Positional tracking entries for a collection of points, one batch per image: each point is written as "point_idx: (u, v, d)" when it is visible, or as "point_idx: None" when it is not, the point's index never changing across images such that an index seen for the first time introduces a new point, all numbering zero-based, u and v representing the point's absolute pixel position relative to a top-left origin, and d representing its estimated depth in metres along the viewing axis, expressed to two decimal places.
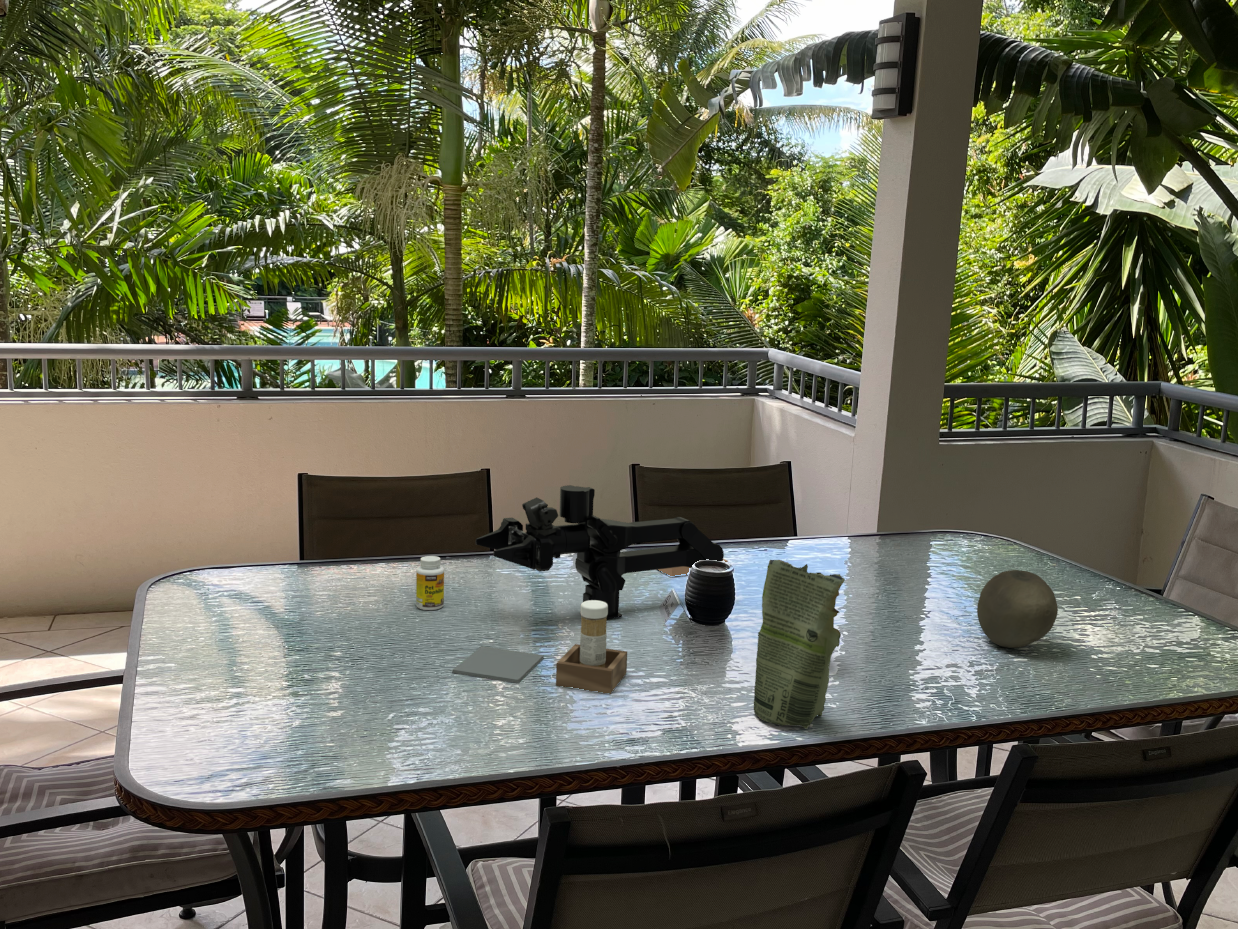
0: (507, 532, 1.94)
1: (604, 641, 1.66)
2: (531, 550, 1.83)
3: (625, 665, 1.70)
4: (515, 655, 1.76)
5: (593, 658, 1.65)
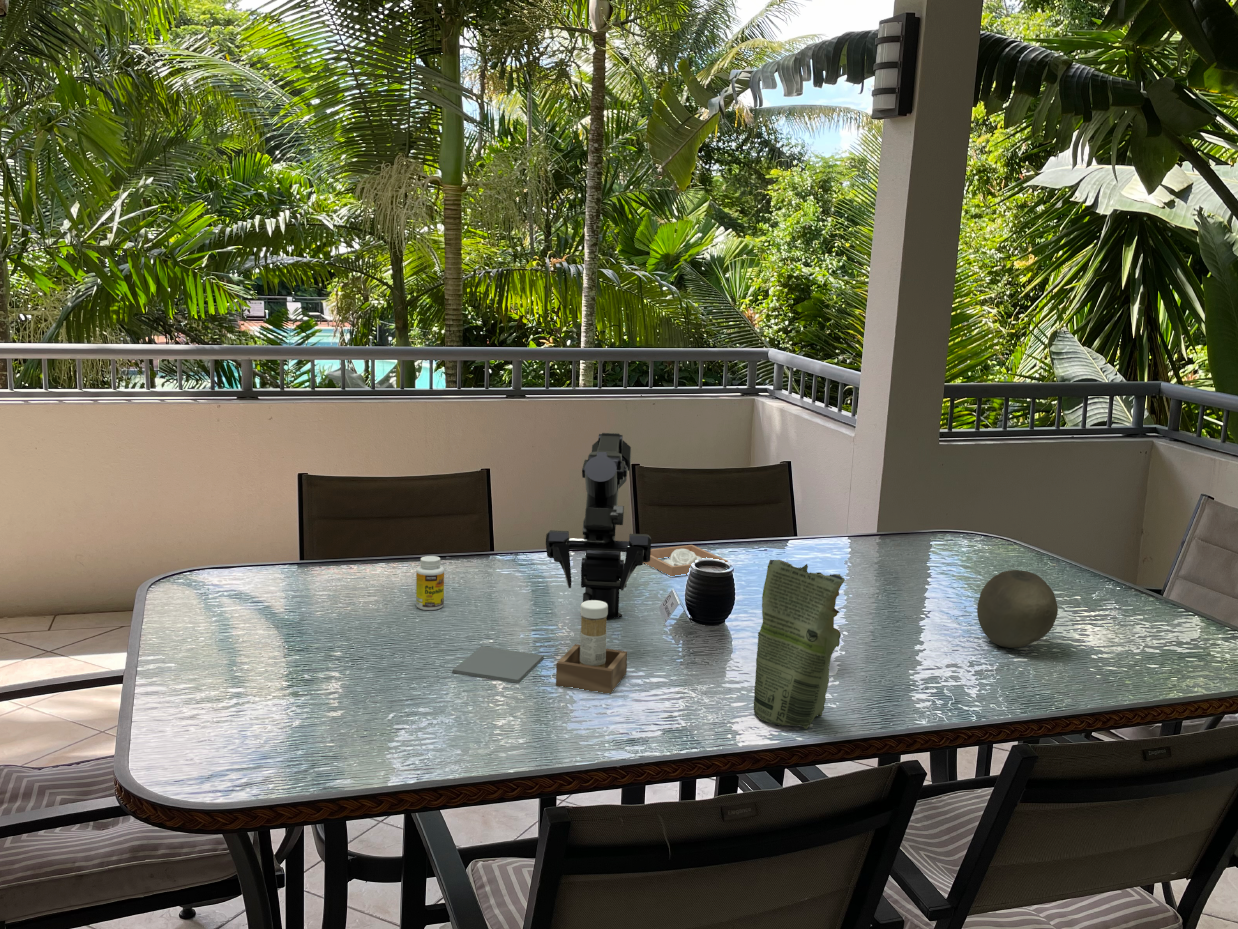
0: None
1: (604, 641, 1.66)
2: (637, 556, 1.77)
3: (625, 665, 1.70)
4: (515, 655, 1.76)
5: (593, 658, 1.65)
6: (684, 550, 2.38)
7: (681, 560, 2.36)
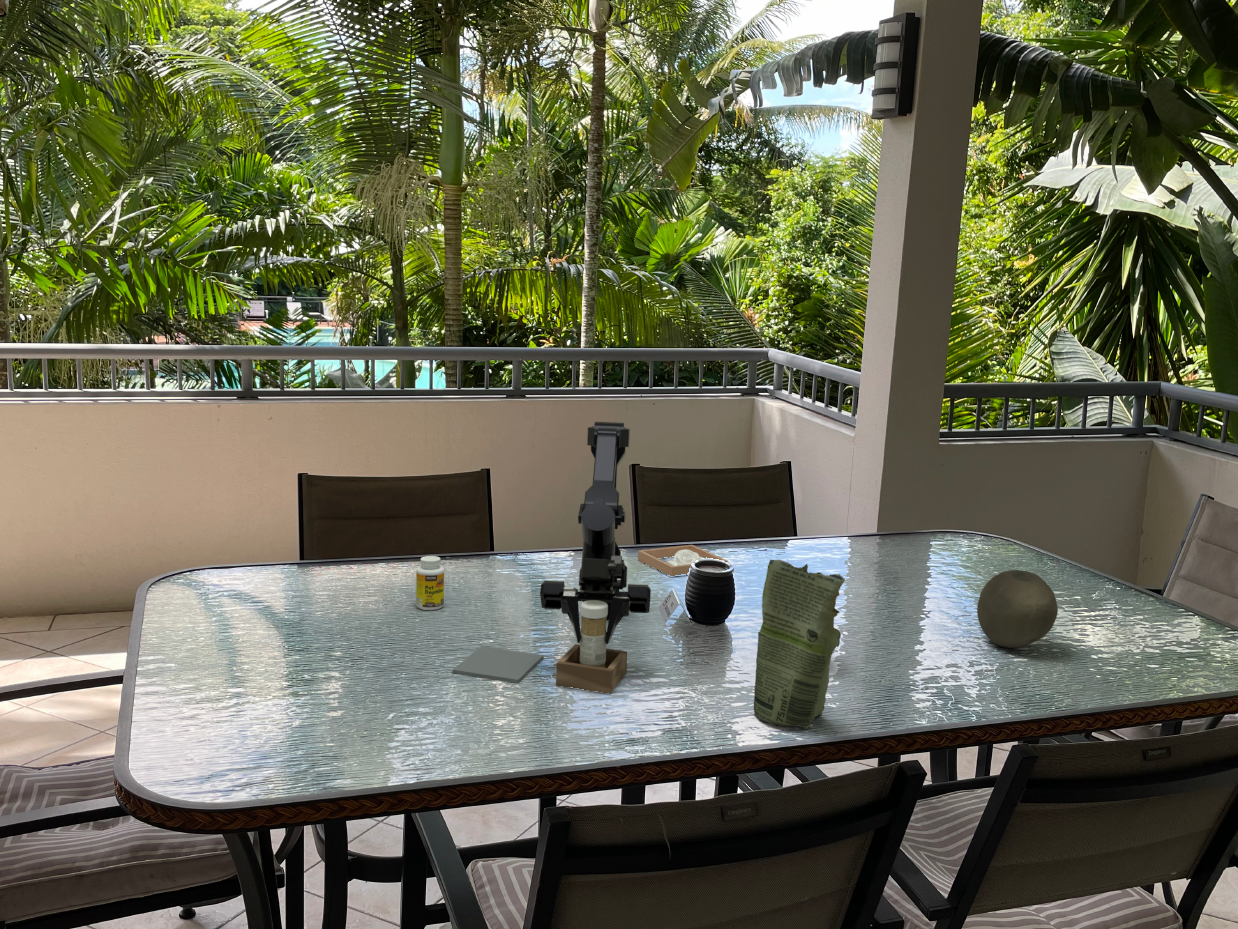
0: None
1: (604, 641, 1.66)
2: (623, 607, 1.69)
3: (625, 665, 1.70)
4: (515, 655, 1.76)
5: (593, 658, 1.65)
6: (688, 551, 2.38)
7: (684, 561, 2.36)
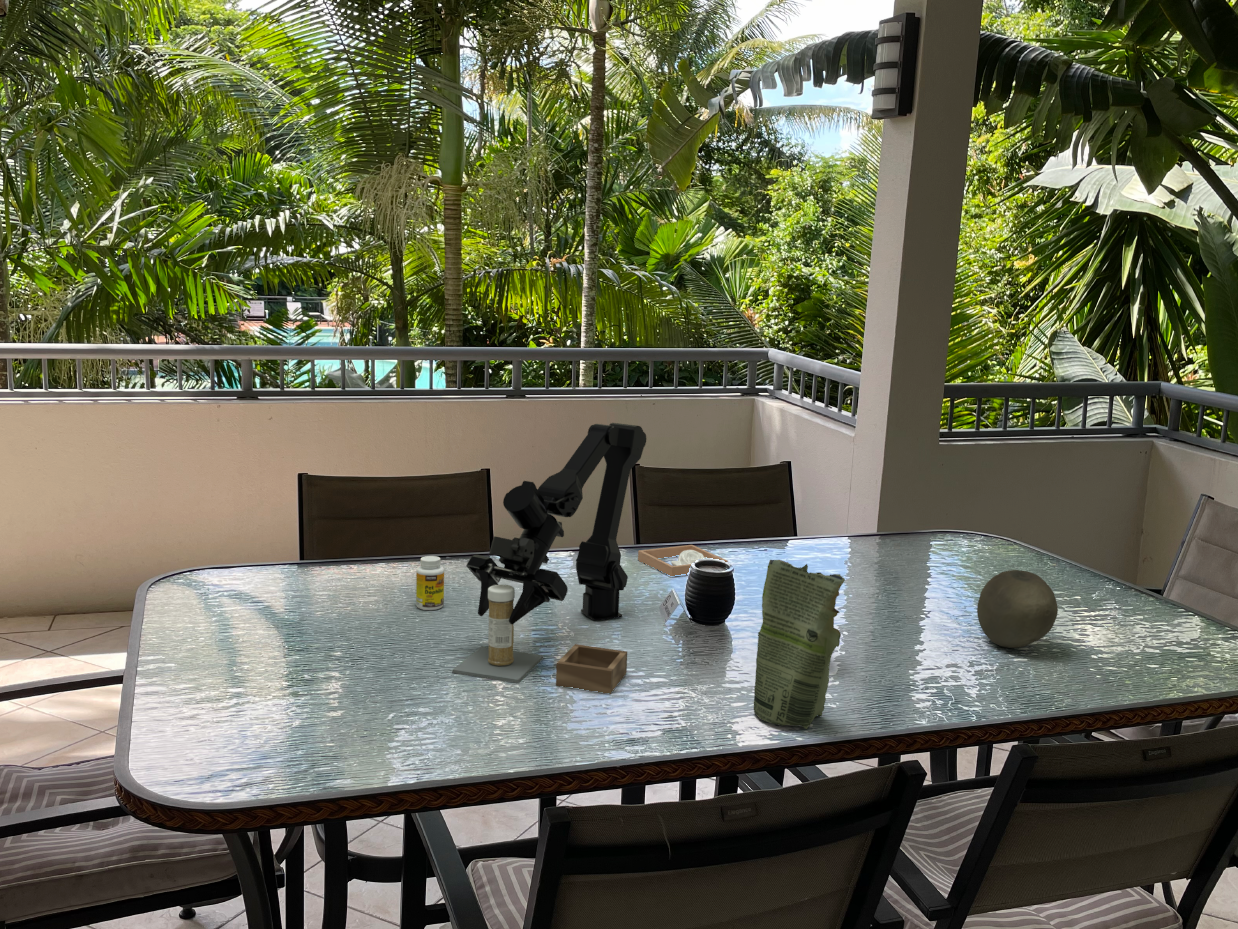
0: (492, 578, 1.74)
1: (506, 625, 1.70)
2: (537, 591, 1.70)
3: (625, 665, 1.70)
4: (515, 655, 1.76)
5: (494, 640, 1.70)
6: (692, 551, 2.38)
7: (689, 561, 2.35)
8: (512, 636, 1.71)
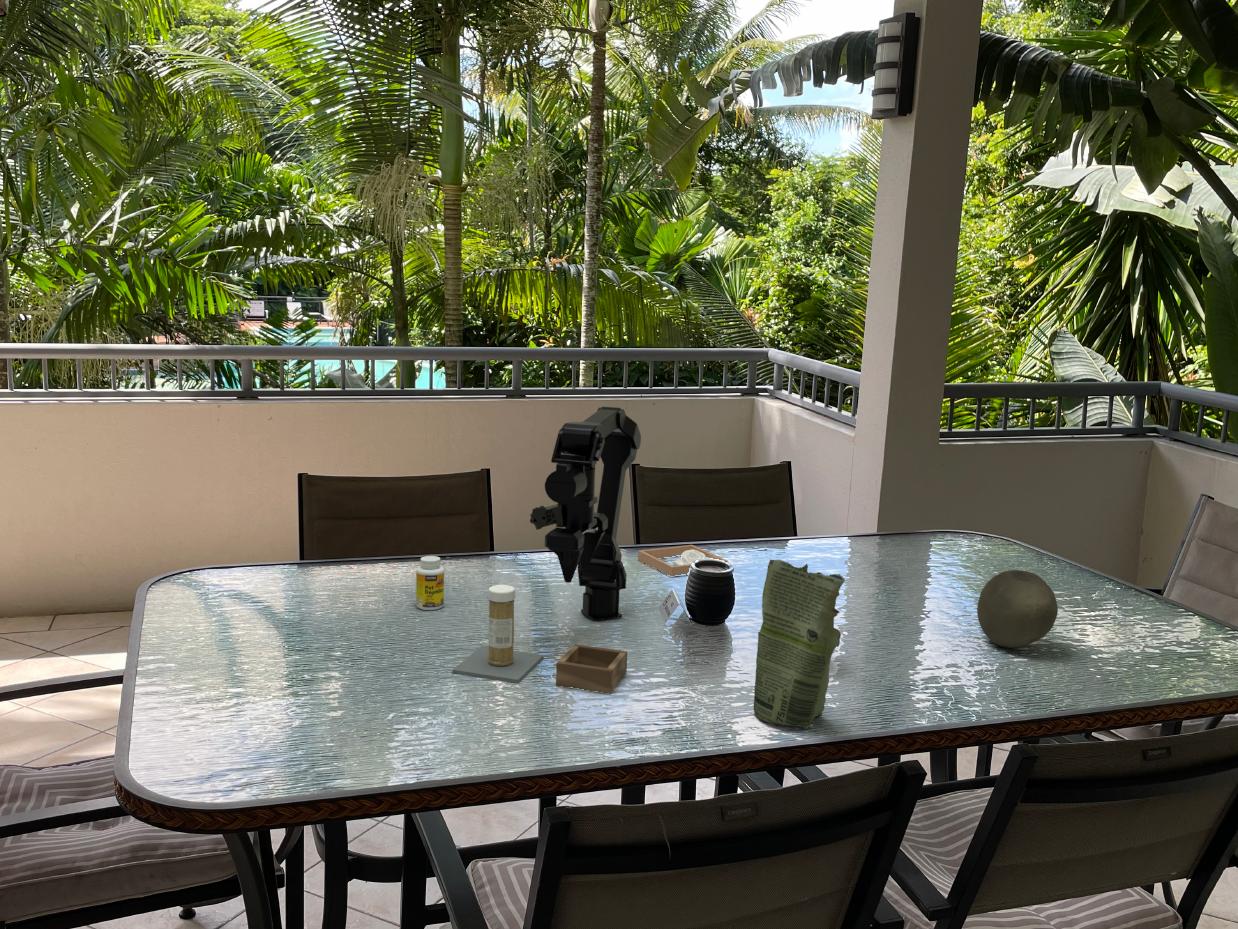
0: None
1: (506, 626, 1.70)
2: None
3: (625, 665, 1.70)
4: (515, 655, 1.76)
5: (494, 640, 1.70)
6: (694, 551, 2.38)
7: (691, 561, 2.36)
8: (512, 636, 1.71)
